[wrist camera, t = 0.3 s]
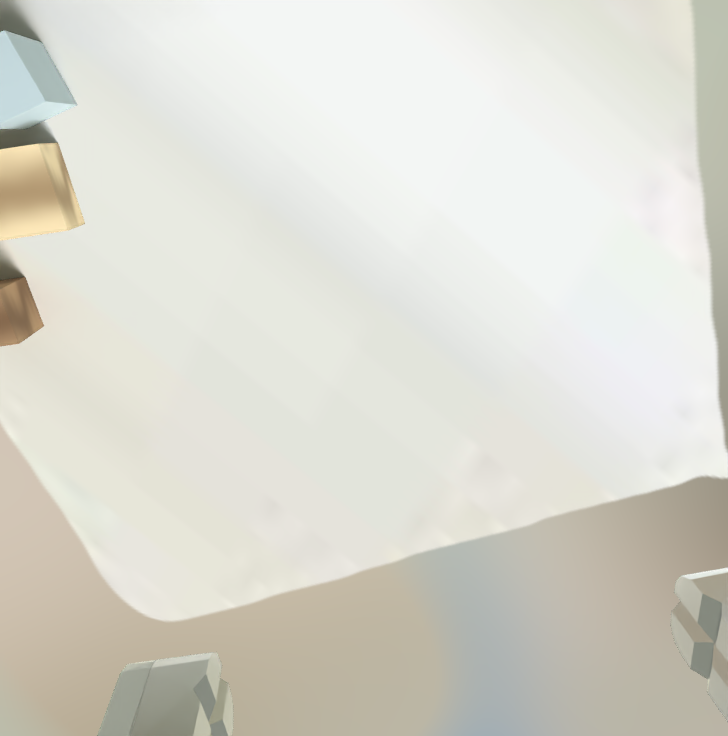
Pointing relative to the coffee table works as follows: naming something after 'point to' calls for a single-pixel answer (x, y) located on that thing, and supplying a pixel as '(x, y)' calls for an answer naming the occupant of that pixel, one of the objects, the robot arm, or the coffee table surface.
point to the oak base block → (36, 192)
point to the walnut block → (17, 312)
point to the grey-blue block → (29, 83)
